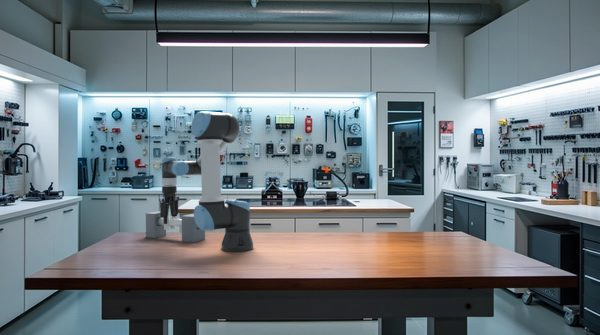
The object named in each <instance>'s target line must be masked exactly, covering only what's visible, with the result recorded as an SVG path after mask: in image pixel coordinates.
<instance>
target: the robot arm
mask: <svg viewBox="0 0 600 335" xmlns="http://www.w3.org/2000/svg"><path fill="white" fill-rule="evenodd" d="M190 127H191V128H190V129H191V133H192V134H191V135H192V136H194V137H195V138H196V142H197V143H198V144H199V146H200V155H199V157H198V158H197V159H196V160H177V157H174V156H168V157H165V156H163V157H162V158H161V186H162V187H161V193H162V194H163V195H162V197H161V198H159V199H158V201H159V208H160V209H159V211H160V216H161V217H162V218H164V230H166V231H169V230H170V229H172V230H175V229H176V226H169V218H174V219H176V217H178V215H179V200H180V196H177V195H176V193H177V192H178V188H177V184H178V180H177V177H182V176H200V177H201V198H200V199H198V204H197V205H196V206H195V207H194V210H193V214H194V219H195V222H196V224H197V226H198V227H199V228H200V229H201V230H203V231H205V232H206V231H210V232H211V231H215V230H222V229H225V230H224V234H223V238H222V241H221V250H222V251H226V252H231V253H232V252H235V253H236V252H237V253H238V252H246V251H251V250H253V249H254V242H253V238H252V235H251V229H250V228H251V226H250V223H251V221H250V218H251V217H250V216H251V214H250V212H251V209H250V203H249V202H248V201H246V200H245V201H244V200H237V199H236V200H235V199H224V198H223V197H222V183H221V180H222V178H221V176H222V175H221V154H222V153H223V152H224V151H225V149H226V148H228V146H229V145H230V144H232V143H234V142H235V141H236V139H237V138H238V136H239V134H240V129H241V126H240V122H239V120H238V119H237V118H236V116H235V115H233V114H231V113H228V112H218V111H210V110H208V111H206V110H205V111H204V110H203V111H198V112H197V113H195V115H194V116H193V119H192V121H191V126H190ZM169 211H170V216H169Z"/></svg>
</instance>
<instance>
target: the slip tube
mask: <svg viewBox="0 0 600 335" xmlns="http://www.w3.org/2000/svg"><path fill="white" fill-rule="evenodd" d="M168 218H169V227H170V226H175V227H181V228H182V218H175V219H174V218H170V217H168ZM157 225H164V218H161V217H157ZM197 227H198V226H197Z"/></svg>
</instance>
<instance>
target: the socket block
mask: <svg viewBox="0 0 600 335" xmlns="http://www.w3.org/2000/svg"><path fill="white" fill-rule="evenodd" d="M157 217H161V216H160V210H159V211H158V210H157V211H152V212H147V213H146V212H145V237H146V238H147V239H157V238H160V237H164V236H166V235H167V230H164V225H157ZM161 218H162V217H161Z"/></svg>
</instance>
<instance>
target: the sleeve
mask: <svg viewBox="0 0 600 335" xmlns="http://www.w3.org/2000/svg"><path fill="white" fill-rule="evenodd" d="M181 219H182V227H181V241H182V242H188V243H197V242H200V241H204V240H205V239H206V231H203V230H201V229H200V228H199V227H197V224H196V222H195V219H194V213H191V214H185V215H181Z"/></svg>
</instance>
